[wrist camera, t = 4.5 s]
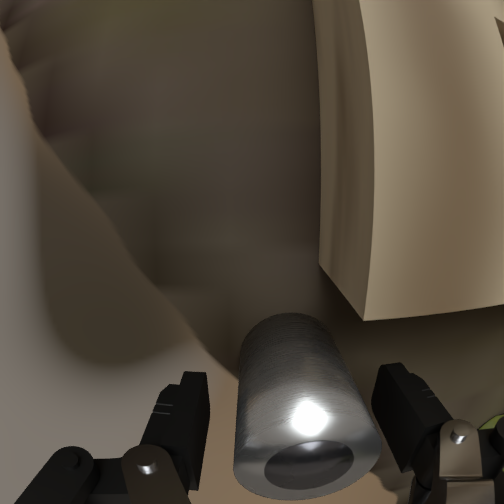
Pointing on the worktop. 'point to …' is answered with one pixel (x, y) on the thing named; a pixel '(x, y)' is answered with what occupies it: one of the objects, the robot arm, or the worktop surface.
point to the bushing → (299, 413)
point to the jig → (412, 153)
